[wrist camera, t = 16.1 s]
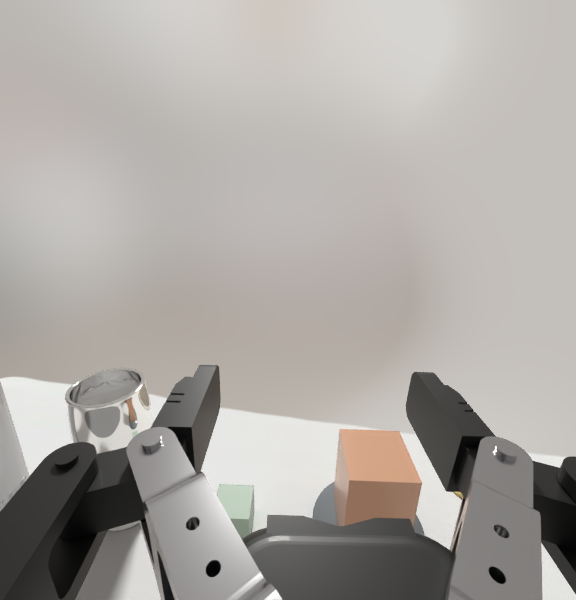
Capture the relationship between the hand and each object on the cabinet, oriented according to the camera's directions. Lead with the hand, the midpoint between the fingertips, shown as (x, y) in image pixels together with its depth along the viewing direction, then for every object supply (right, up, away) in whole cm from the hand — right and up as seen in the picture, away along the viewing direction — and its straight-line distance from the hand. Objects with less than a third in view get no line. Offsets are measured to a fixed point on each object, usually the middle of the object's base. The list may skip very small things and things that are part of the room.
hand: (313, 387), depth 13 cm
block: (-7, -20, +19) cm, 28 cm away
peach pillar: (+7, -19, +18) cm, 27 cm away
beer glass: (-19, -19, +21) cm, 34 cm away
